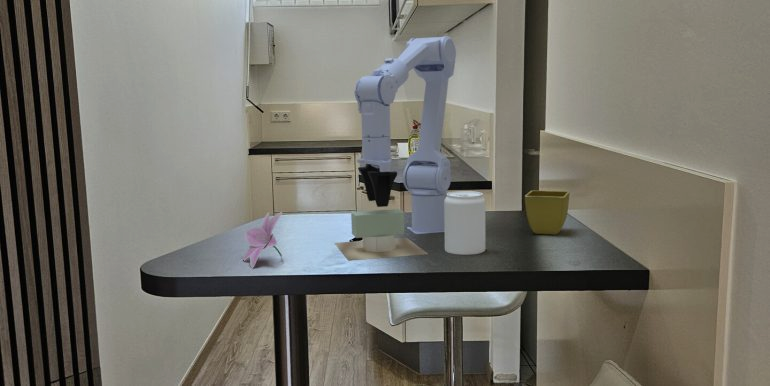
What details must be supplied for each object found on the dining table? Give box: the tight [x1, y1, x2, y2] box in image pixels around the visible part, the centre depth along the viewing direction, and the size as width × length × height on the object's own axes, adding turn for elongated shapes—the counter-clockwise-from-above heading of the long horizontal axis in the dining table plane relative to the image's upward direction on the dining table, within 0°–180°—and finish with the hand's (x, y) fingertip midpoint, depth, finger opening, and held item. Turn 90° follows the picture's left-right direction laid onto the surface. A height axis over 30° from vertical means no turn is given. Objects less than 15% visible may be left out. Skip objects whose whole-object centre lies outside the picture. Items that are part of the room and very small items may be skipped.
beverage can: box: [444, 190, 486, 256], centre depth 140 cm, size 8×8×12 cm
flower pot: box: [524, 189, 571, 236], centre depth 158 cm, size 9×9×9 cm
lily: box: [242, 211, 283, 268], centre depth 137 cm, size 12×12×10 cm
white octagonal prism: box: [362, 235, 397, 252], centre depth 144 cm, size 6×6×3 cm
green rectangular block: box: [350, 208, 405, 239], centre depth 143 cm, size 10×4×4 cm, turn 104°
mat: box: [333, 237, 429, 262], centre depth 144 cm, size 16×16×1 cm
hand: (377, 203), depth 143 cm, fingers open, 7 cm apart
